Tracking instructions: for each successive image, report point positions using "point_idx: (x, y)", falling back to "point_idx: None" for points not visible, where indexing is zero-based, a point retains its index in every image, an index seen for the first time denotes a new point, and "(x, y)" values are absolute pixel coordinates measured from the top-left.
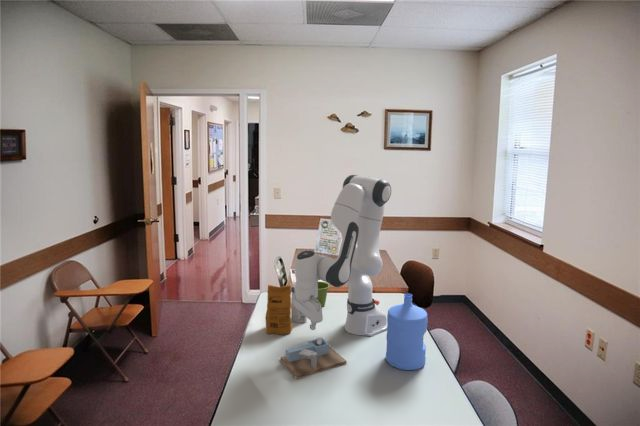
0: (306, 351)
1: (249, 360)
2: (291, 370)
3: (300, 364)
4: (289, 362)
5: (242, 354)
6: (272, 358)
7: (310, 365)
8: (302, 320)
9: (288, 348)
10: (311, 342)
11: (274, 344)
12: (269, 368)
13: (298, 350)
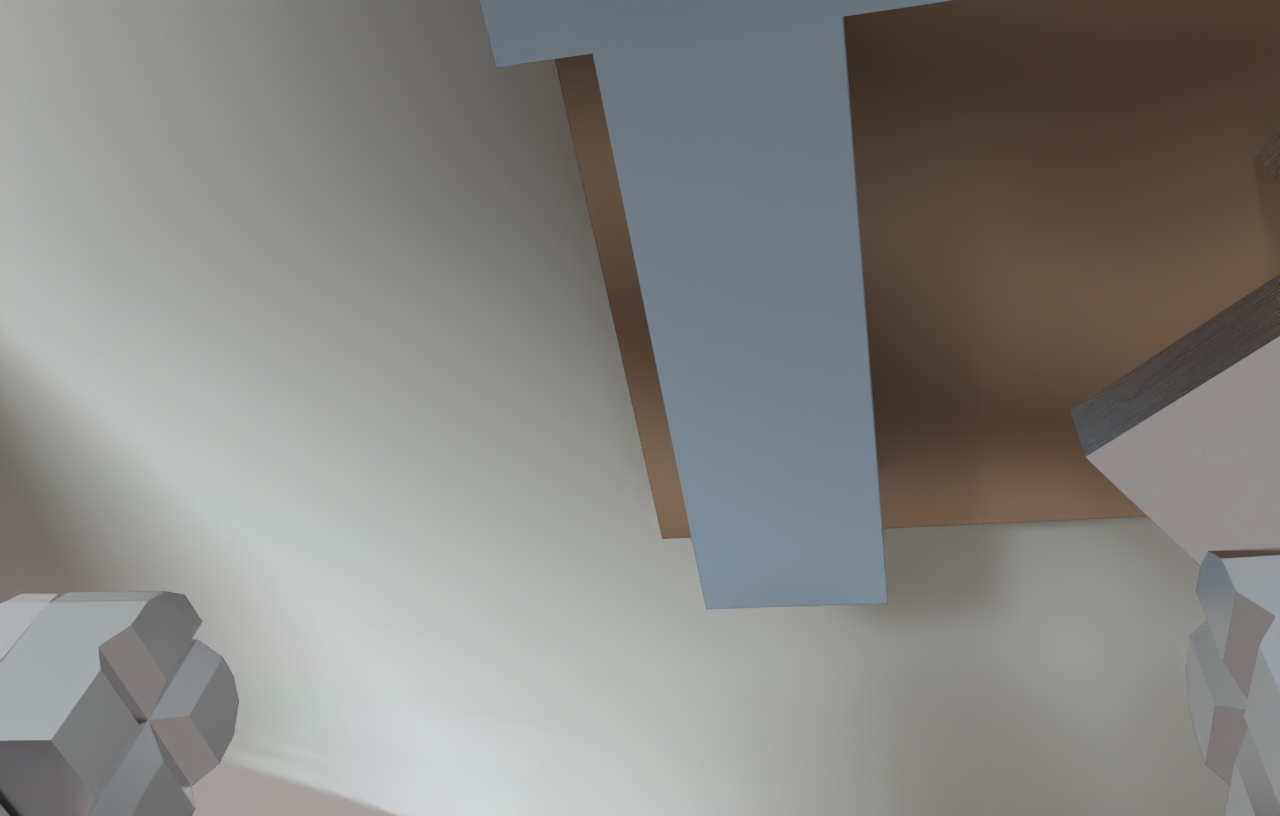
0: (1262, 436)
1: (549, 784)
2: (1135, 510)
3: (1053, 338)
4: (888, 474)
5: (385, 801)
6: (582, 577)
7: (1208, 177)
8: (205, 658)
9: (705, 562)
10: (595, 7)
11: (153, 444)
12: (838, 674)
13: (872, 430)
